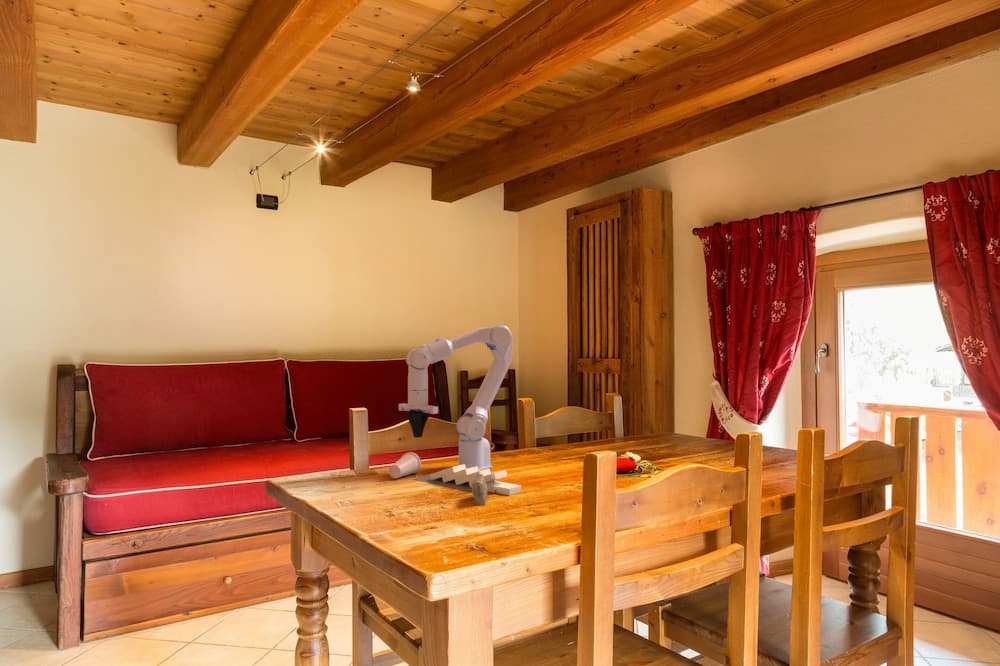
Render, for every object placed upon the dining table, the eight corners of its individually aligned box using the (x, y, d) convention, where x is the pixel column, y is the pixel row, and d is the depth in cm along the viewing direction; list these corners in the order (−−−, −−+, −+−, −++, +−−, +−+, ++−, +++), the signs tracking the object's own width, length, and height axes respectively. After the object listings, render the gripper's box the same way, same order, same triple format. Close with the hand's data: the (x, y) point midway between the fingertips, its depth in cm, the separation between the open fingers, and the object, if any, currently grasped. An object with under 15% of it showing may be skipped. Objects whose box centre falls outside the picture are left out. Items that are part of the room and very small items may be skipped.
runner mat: (437, 474, 182) (437, 473, 182) (508, 488, 165) (508, 486, 165) (411, 480, 174) (411, 479, 174) (483, 495, 157) (483, 493, 157)
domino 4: (468, 481, 164) (493, 472, 159) (480, 478, 168) (505, 469, 163) (470, 487, 164) (495, 479, 158) (482, 484, 167) (507, 475, 162)
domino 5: (481, 483, 161) (509, 488, 156) (493, 480, 165) (521, 485, 160) (481, 490, 161) (509, 495, 156) (493, 486, 165) (521, 491, 160)
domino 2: (441, 476, 170) (465, 468, 165) (454, 473, 174) (477, 466, 169) (443, 482, 170) (466, 475, 164) (455, 479, 174) (479, 472, 168)
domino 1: (430, 474, 173) (452, 466, 168) (442, 471, 177) (464, 464, 171) (431, 480, 173) (454, 472, 167) (443, 477, 176) (466, 469, 171)
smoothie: (409, 477, 172) (432, 464, 185) (398, 456, 173) (421, 444, 186) (391, 487, 174) (415, 473, 187) (380, 466, 175) (405, 454, 188)
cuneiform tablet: (496, 494, 158) (494, 506, 146) (478, 498, 159) (475, 510, 147) (490, 466, 159) (488, 476, 147) (473, 470, 159) (469, 480, 147)
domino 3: (454, 479, 167) (478, 470, 162) (466, 476, 171) (490, 468, 166) (456, 485, 167) (480, 477, 162) (468, 482, 171) (492, 474, 165)
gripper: (390, 389, 186) (390, 436, 186) (425, 392, 177) (425, 441, 176) (408, 388, 191) (408, 433, 191) (443, 390, 182) (443, 438, 182)
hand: (417, 437), depth 184 cm, fingers closed
